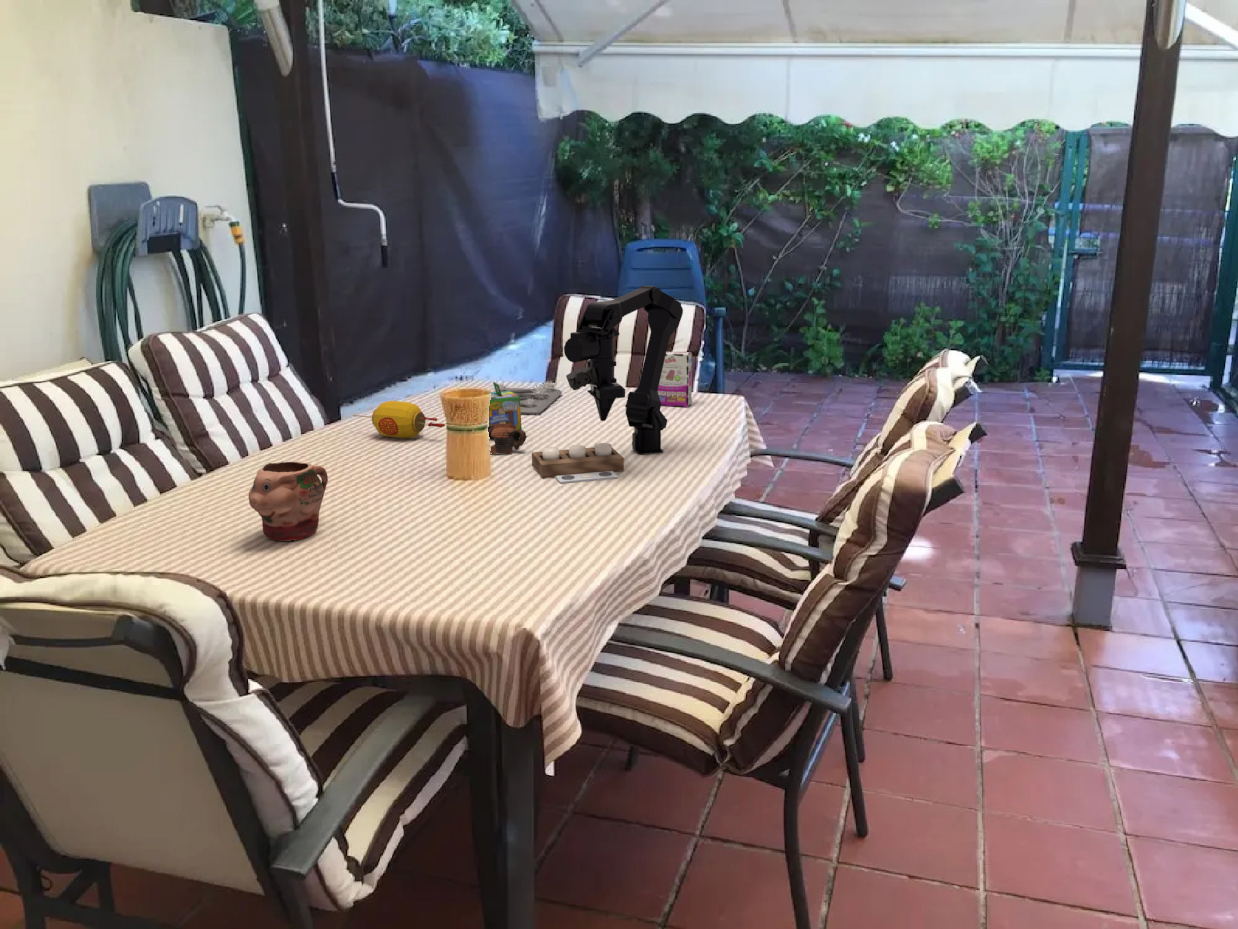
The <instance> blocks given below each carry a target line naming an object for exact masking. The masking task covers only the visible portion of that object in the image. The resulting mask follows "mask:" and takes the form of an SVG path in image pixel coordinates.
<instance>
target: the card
mask: <svg viewBox="0 0 1238 929" xmlns="http://www.w3.org/2000/svg"><path fill="white" fill-rule="evenodd" d="M554 478H555V479H556V480H557V482H558V483H559V484H568V483H570V482H571V483H579V482H580V483H581V481H582V482H589V481H592V482H593V481H600V480H602V481H604V480H611V479H613V480H615V479H619V475H618V474H617V473H616V472H613V471H606V472H595V473H583V474H572V475H561V476H555V477H554Z"/></svg>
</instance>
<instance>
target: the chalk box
mask: <svg viewBox="0 0 1238 929" xmlns="http://www.w3.org/2000/svg"><path fill="white" fill-rule="evenodd" d="M492 384H493V386H494V389H495V390H494V391H493V392H492V391H490V393H491V400H490V406H489V426H491V425H495V424H512V425H514V426H515V427H516V430H518V429H521V430H523V429H522V428H523V426H522V415H521V408H520V396H519V395H517V394H515V393H513V392H511V391H505V392H501V391H500V388H499V385H498V384H499V383H497V382H495V381H493V382H492ZM497 388H498V390H499V391H498V390H497ZM490 440H491V441H494V439H490ZM490 440H489V441H490Z"/></svg>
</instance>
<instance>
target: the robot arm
mask: <svg viewBox="0 0 1238 929" xmlns="http://www.w3.org/2000/svg"><path fill="white" fill-rule="evenodd" d="M640 309H643V310H644V311H645V312H646V313H647V319H646V320H647V323H648V326H649V329H650V334H649V338H648V342H647V346H646V350H645V351H646V352H645V356H644V360H643V364H642V370H641V373H640V377H639V382H638V386H637V388H636V389H635V390H634V391H629V392H628V393H627V401H626V403H625V405H624V407H625V415H626V418H627V423H628V426H629V427H630V428H631V427H632V428H633V432H632V433H631V434H632V435H631V442H632V443H631V444H632V450H633V451H634V452H636V453H637V454H638V455H645V454H647V455H648V454H658V453H659V454H660V453H664V450H663V449H662V431H664V429H666V428H667V424H668V418H666V416H665V415H664V414H663V412H662V411H661V408H662V406H661V401H660V398H659V395H658V387H659V382H660V378H661V373H662V369H663V365H664V360H665V356H666V352H668V351H667V350H668V346H669V342H670V339H671V338H670V337H671V335H672V334H674V332H675V331H676V330H677V329H678V328H679V326H680V323H681V320H682V317H683V313H684V309H683V307H682V305H681V303H680V301H679V300H677V299H675V298H674V297H672V296H671V295H669V294H667V293H665V292H664V291H662V290H661V289H660V288H659V287H657V286H653V285H641V286H639V287H638V288H637V289H633V290H632V291H630V292H628V293H626V294H623V295H621V296H618V297H617V298H614V299H612V300H604V301H603V300H602V301H594V302H590V303H589V304H587V306H586V309H585V310H584V313H583V315H582V318H581V319H580V322H579V323H578V326H577V328H576V332H574V331H573V332H570V337H569V338H568V339H567V340H566V341H565V344H564V346H563V352H564V355H565V357H566V359H567V360H568V361H569V362H571V363H573V364H574V363H579V362H584V361H586V366H585V367H582V368H578V369H577V370H574V371H572V372H570V373H567V374H566V375H565V377H566V380H567V382H568V384H569V387H570V389H572V390H573V391H578V390H579V389H581V388H585V387H586V388H587V385H590V386H589V387H590V389H589V390H587V393H588V394H589V395H591V396H592V397H593V399H594V402H595V404H596V408H597V412H598V413H597V414H598V416H599V420H600V421H601V422H605V421H606V420H607V419H608V416H609V413H610V411H611V410H612V409H611V408H612V407H613V404H614V403H615V402H616V399H622V398H623V399H624V398H626V388H624V387H623V386H622V385H621V384H619V383H618V382H617V380H618V379H617V378H616V377H615V367H617V361H616V360H615V348H614V347H615V346H614V345H615V344H614V343H615V342H614V340H615V337H619V336H620V332H619V331H618V330H617V329H616V328H615V327H616V326H618V325H619V324H620V323H621V322H622V321H623V317H626V316H627V315H629V314H632V313H633V312H636V311H638V310H640Z"/></svg>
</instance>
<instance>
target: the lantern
mask: <svg viewBox="0 0 1238 929" xmlns="http://www.w3.org/2000/svg"><path fill="white" fill-rule="evenodd" d="M352 417H362V418H371V422H372V425H373V426H374V428H375V429H376V431H377V432H378V434H380V435H382V436H384V437H387V438H392V439H401V438H402V440H409V439H413V438H415V437H418V435H419V434H420V433H421V432H422V431H423V430H424V428H425V426H426V425H427V426H428V427H429V428H430V427H437V428H444V427H445V426H446V425H445V423H433V422H434V421H435V422H437V421H438V418H437V417H426V416H425V414H424V413H423V411H422V410H421V408H420V407H419V405H417V404H414V403H412V402H408V401H399V400H388V401H385V402H381V403H380V404H379V405H378V406H377V408H376V409H374V411H373V412H372V415H371V416H369V415H368V416H366V415H357V414H352ZM426 420H428V421H431V422H429V423H427V422H426ZM432 421H433V422H432Z"/></svg>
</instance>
